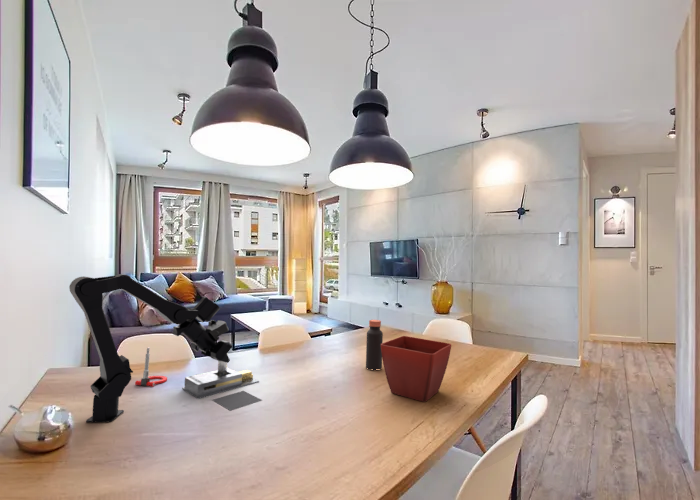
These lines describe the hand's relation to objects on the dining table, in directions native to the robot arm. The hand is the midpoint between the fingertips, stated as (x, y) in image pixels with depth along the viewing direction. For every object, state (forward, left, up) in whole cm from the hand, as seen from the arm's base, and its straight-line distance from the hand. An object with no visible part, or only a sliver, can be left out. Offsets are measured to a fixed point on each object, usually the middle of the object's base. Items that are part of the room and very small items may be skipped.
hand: (226, 360), depth 121 cm
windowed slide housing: (-1, +1, -9) cm, 9 cm away
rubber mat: (-14, -7, -9) cm, 18 cm away
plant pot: (-8, -66, -9) cm, 67 cm away
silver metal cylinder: (-1, +1, -6) cm, 6 cm away
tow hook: (+4, +26, -9) cm, 28 cm away
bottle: (+19, -56, -9) cm, 60 cm away
